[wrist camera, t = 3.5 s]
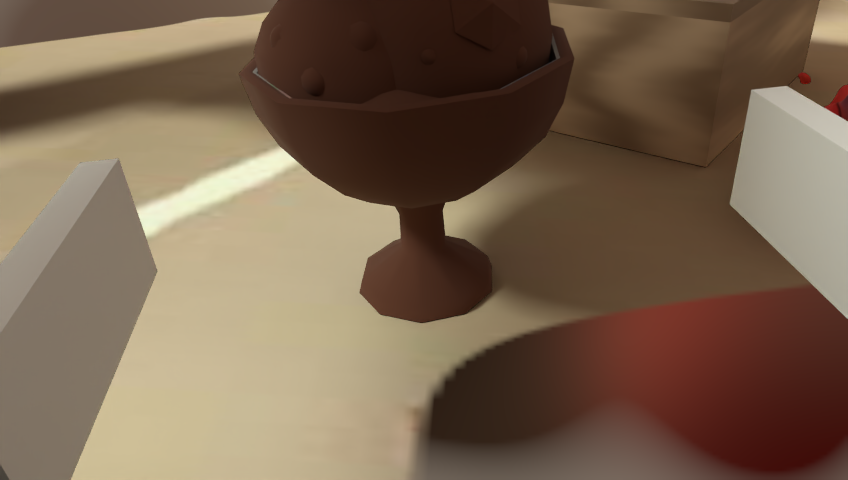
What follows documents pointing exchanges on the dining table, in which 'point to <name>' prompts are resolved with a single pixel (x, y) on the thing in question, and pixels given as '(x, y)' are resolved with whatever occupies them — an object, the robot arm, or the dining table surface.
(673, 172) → the dining table surface
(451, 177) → the ice cream bowl
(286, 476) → the dining table surface
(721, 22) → the wooden block
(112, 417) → the dining table surface
